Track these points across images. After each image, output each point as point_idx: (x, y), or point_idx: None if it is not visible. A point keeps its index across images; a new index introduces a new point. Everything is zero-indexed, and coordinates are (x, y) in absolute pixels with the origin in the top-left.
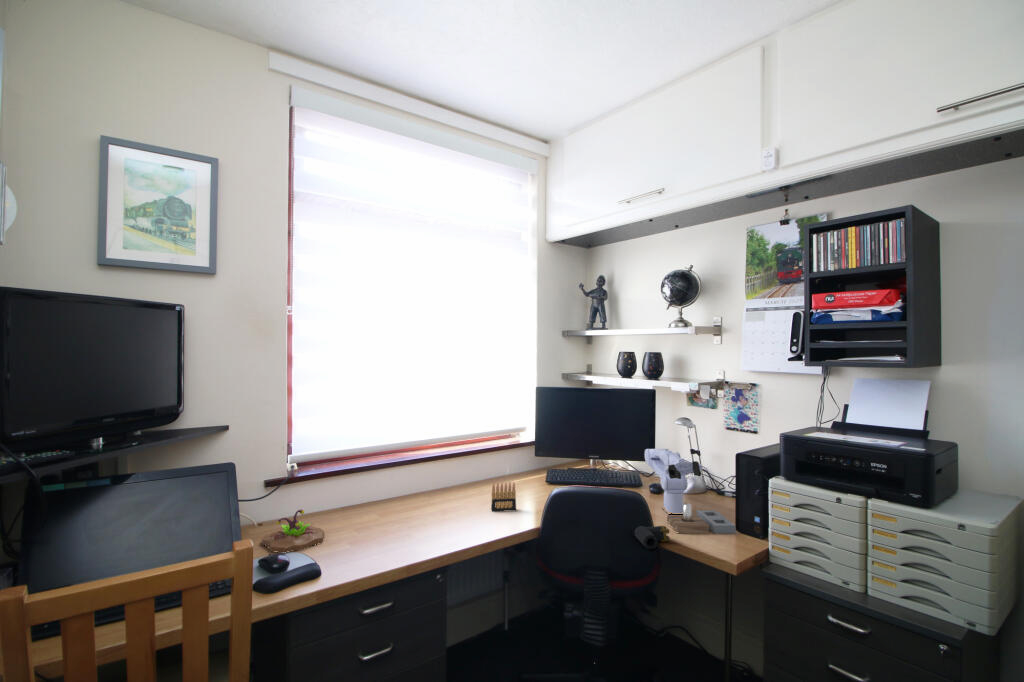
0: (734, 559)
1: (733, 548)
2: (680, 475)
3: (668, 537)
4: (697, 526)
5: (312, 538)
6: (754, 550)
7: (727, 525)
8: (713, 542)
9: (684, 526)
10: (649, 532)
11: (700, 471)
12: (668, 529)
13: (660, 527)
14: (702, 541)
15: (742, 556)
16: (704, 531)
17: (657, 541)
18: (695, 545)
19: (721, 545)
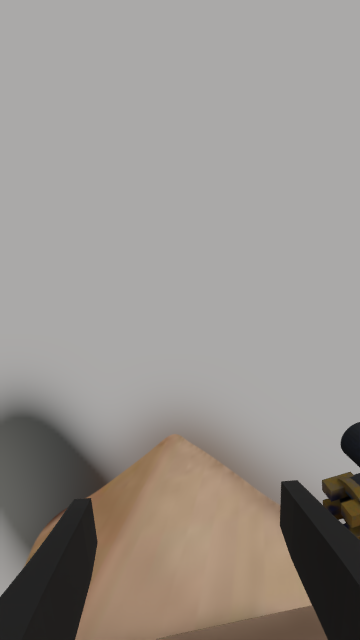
0: (167, 445)
1: (140, 502)
2: (285, 496)
3: (326, 499)
4: (214, 630)
5: None
6: (93, 501)
7: None
8: (180, 539)
9: (278, 616)
10: None
11: (71, 504)
12: (325, 480)
13: (356, 480)
14: (214, 541)
15: (143, 461)
16: None
17: (341, 442)
18: (240, 501)
19: (164, 518)
